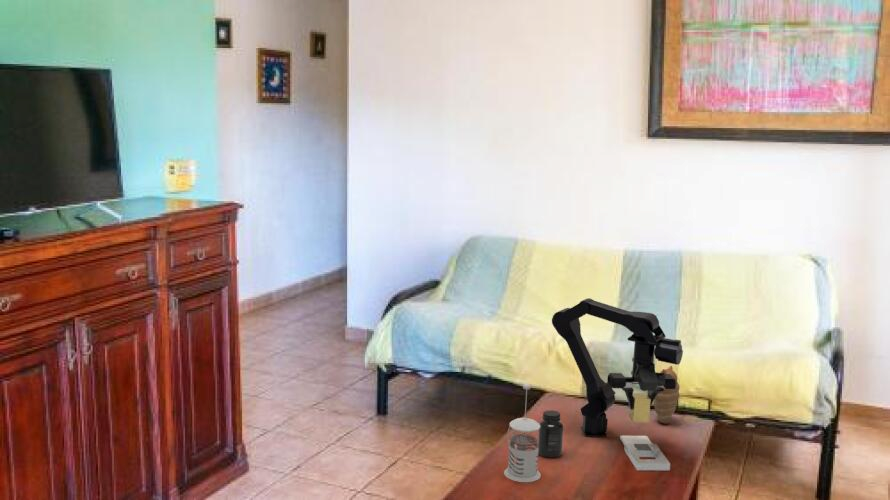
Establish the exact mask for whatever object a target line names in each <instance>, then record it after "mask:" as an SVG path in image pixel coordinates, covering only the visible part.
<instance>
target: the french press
mask: <svg viewBox="0 0 890 500" xmlns="http://www.w3.org/2000/svg"><path fill="white" fill-rule="evenodd" d="M522 388H523V390H525V405H524V406H525V407H524V417H517V418H515V419H513V420H511V421H510V422H509V426H508V430H507V443H508V461H507V462H508V465H507V468H505V470H504V472H503V475H504V476H505V477H506V478H507V479H510V480H511V481H514V482H519V483H532V482H534V481H538V480H539V479H540V478H541V472H540V471H539V470H538V464H539V463H538V460H539V453H538V439H537V437H536V436H534V435H532V434H531V435H530V434H526V433H535V432H537V431H539V429H540V424H539V423H540V422H538V421H536V420H534V419H532V418H527V416H526V414H527V401H528V400H527V399H528V398H527V397H528V390H531V385H530V384H529V383H525V384H523V386H522ZM510 429H512V435H511V437H510V436H509V435H510V434H509V432H510ZM515 431H516V432H521V433H520V434H515ZM534 446H535V447H534Z"/></svg>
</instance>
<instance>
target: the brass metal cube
mask: <svg viewBox="0 0 890 500" xmlns="http://www.w3.org/2000/svg"><path fill="white" fill-rule="evenodd" d="M647 394H648V393H646V392H645V393H643V392H642V393H641V392H633V407H632V409H630V407H629V406H628V408H629V409H628V417H629V419H630V420H631V421H632V423H649V422H650V413H651V407H650V402H651V399H650V398H649V396H648V395H647Z"/></svg>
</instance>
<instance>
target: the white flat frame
mask: <svg viewBox="0 0 890 500" xmlns="http://www.w3.org/2000/svg"><path fill="white" fill-rule="evenodd" d="M623 449H624V452H625V454H626V456H628V457H627V458H629V460H630V461H631V463H632V464H633V466H634V468H635V470H636V471H662V472H663V471H665V472H667V471H669V472H670V471H671V462H670V461H669V460H668V458H667V457H666V456H665V454H664V453H663V452H662V450H661V449H660V447H659V446H658V444H656V443H652V444H625V445H624V448H623ZM641 458H647V459H641ZM648 458H649V459H648ZM650 458H654V459H650Z"/></svg>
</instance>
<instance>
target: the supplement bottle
mask: <svg viewBox="0 0 890 500" xmlns="http://www.w3.org/2000/svg"><path fill="white" fill-rule="evenodd" d="M538 423H539V424H540V429H539V430H538V436H537V437H538V439H537V440H538V442H537V444H538V455H540V456H541V457H543V458H546V459H547V458H548V459H549V458H550V459H555V458H559V457H561V455H562V453H563V444H564V443H563V441H564V425H563V423H562V422H561V413H560V412H559V411H557V410H553V409H549V410H545V411H543V412H542V420H541V421H540V422H538Z"/></svg>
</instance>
